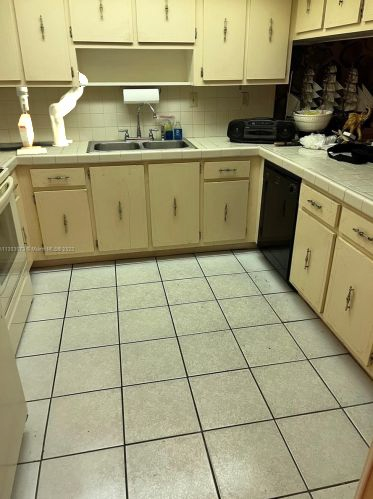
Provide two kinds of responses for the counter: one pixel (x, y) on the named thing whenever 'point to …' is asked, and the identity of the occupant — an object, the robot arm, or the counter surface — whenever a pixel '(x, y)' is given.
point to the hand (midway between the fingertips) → (26, 120)
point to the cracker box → (26, 130)
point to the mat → (31, 151)
